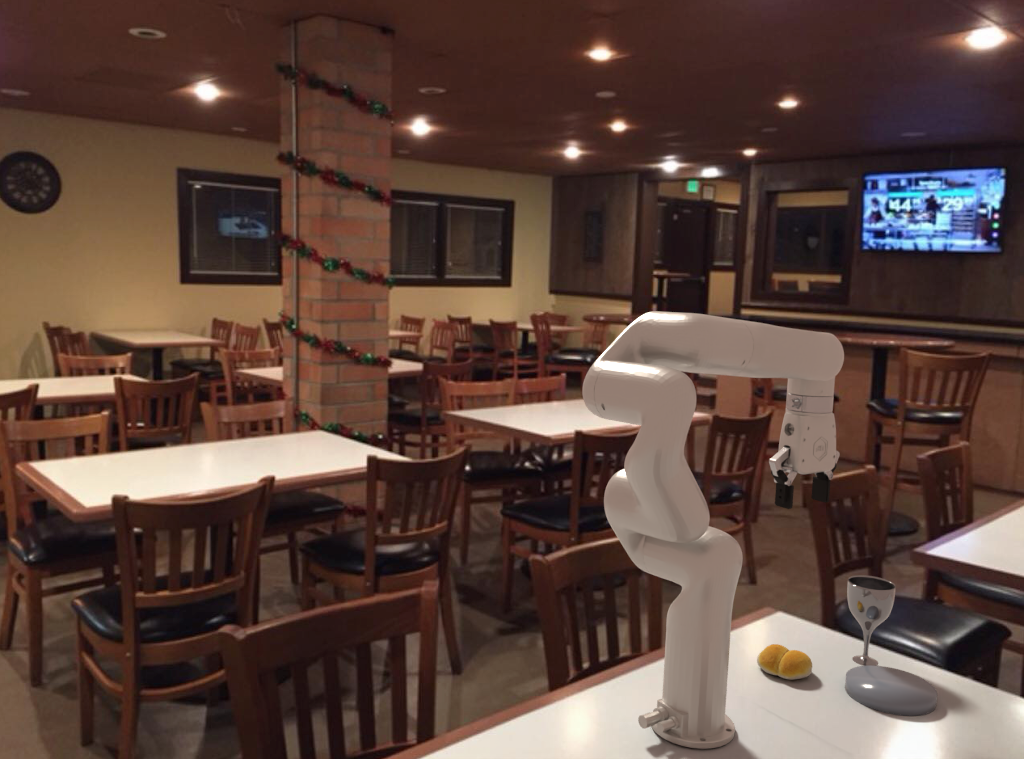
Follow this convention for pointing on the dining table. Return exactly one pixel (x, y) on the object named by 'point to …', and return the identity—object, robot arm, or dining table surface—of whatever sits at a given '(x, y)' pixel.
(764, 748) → the dining table surface
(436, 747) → the dining table surface
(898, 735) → the dining table surface
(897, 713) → the plate
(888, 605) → the wine glass
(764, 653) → the bread roll
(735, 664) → the dining table surface
